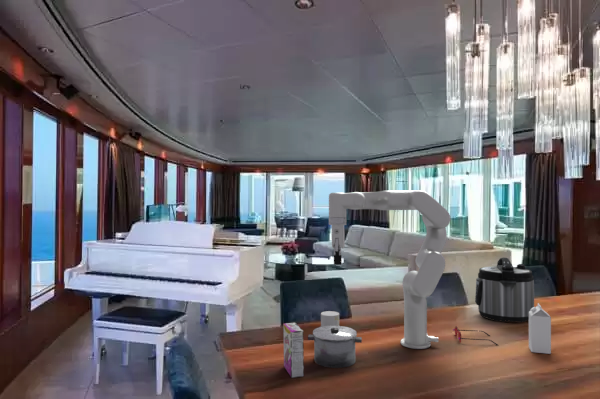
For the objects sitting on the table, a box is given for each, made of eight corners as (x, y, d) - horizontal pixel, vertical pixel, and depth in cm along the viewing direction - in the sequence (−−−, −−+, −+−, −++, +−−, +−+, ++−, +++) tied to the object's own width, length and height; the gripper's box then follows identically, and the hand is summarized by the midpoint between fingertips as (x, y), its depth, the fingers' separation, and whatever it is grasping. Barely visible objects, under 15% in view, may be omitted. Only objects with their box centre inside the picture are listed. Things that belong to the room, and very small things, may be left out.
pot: (362, 353, 179) (362, 328, 179) (361, 369, 162) (361, 342, 162) (311, 350, 183) (311, 326, 183) (305, 366, 166) (305, 339, 166)
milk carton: (547, 348, 185) (547, 303, 185) (551, 354, 178) (551, 307, 178) (528, 347, 187) (528, 302, 187) (531, 352, 180) (531, 306, 180)
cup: (338, 343, 192) (338, 316, 192) (319, 342, 193) (319, 315, 193) (340, 338, 200) (340, 311, 200) (322, 337, 201) (322, 310, 201)
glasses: (452, 335, 206) (452, 324, 206) (490, 336, 203) (490, 325, 203) (458, 344, 192) (458, 333, 192) (498, 346, 189) (498, 334, 189)
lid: (357, 328, 179) (357, 323, 179) (355, 342, 162) (355, 336, 162) (315, 326, 182) (315, 321, 182) (310, 339, 165) (310, 334, 165)
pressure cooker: (494, 308, 255) (494, 253, 255) (545, 318, 233) (545, 258, 233) (464, 316, 237) (464, 257, 237) (516, 328, 215) (516, 263, 215)
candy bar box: (282, 366, 165) (282, 323, 165) (295, 365, 166) (295, 322, 167) (290, 378, 154) (290, 331, 154) (304, 376, 156) (304, 330, 156)
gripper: (345, 222, 180) (345, 267, 180) (347, 220, 195) (347, 262, 195) (327, 222, 181) (327, 266, 181) (330, 220, 196) (330, 261, 196)
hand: (337, 264), depth 188 cm, fingers closed
